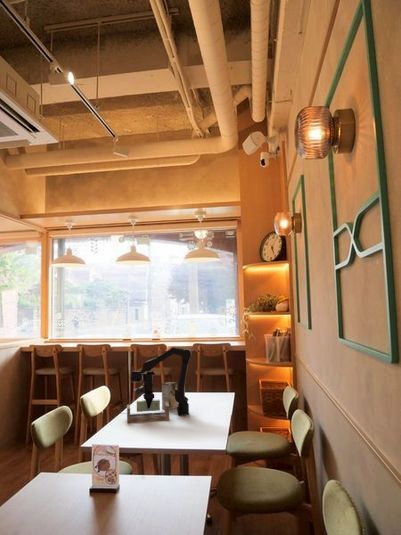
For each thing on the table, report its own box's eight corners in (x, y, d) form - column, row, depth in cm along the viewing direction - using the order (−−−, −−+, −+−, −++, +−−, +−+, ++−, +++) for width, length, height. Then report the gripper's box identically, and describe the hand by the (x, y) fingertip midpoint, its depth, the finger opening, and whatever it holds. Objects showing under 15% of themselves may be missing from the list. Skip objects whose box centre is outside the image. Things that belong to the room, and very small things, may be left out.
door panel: (159, 409, 262) (159, 399, 262) (159, 410, 259) (159, 400, 259) (136, 410, 259) (136, 400, 260) (136, 411, 256) (136, 401, 257)
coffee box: (171, 406, 282) (170, 381, 284) (178, 407, 278) (178, 382, 280) (161, 408, 275) (161, 383, 276) (169, 409, 271) (168, 384, 273)
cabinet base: (167, 416, 254) (167, 402, 255) (169, 420, 244) (169, 406, 245) (127, 418, 250) (127, 404, 251) (127, 423, 240) (127, 408, 241)
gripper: (134, 380, 268) (134, 405, 267) (135, 385, 250) (135, 412, 248) (152, 379, 270) (152, 404, 269) (154, 384, 252) (154, 411, 250)
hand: (148, 407), depth 259 cm, fingers closed on door panel, 3 cm apart
